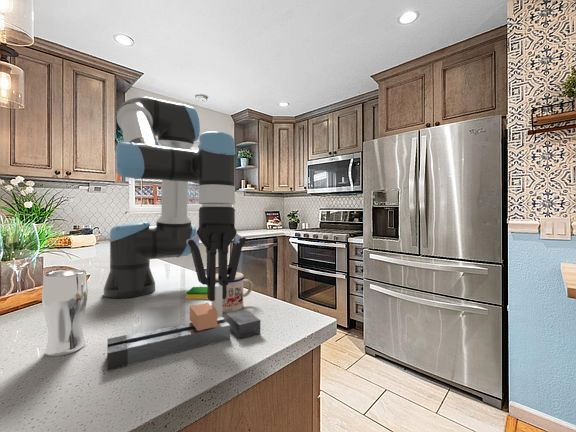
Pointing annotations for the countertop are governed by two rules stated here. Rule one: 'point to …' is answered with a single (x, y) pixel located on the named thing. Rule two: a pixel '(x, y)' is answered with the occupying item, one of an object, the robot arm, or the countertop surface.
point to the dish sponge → (197, 293)
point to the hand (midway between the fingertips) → (216, 314)
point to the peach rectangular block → (203, 316)
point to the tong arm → (154, 333)
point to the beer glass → (64, 310)
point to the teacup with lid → (235, 293)
